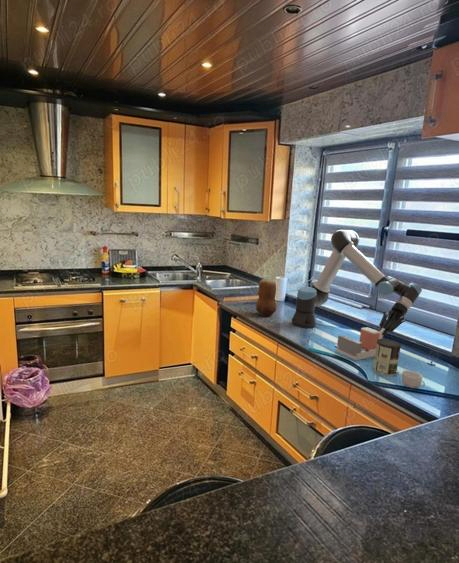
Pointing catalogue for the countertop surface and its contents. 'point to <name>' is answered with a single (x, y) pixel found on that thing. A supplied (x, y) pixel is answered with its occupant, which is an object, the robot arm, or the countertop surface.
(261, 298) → the brown curvy cylinder
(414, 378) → the teacup
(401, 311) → the robot arm
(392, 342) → the coffee can
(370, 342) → the orange rectangular block
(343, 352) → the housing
